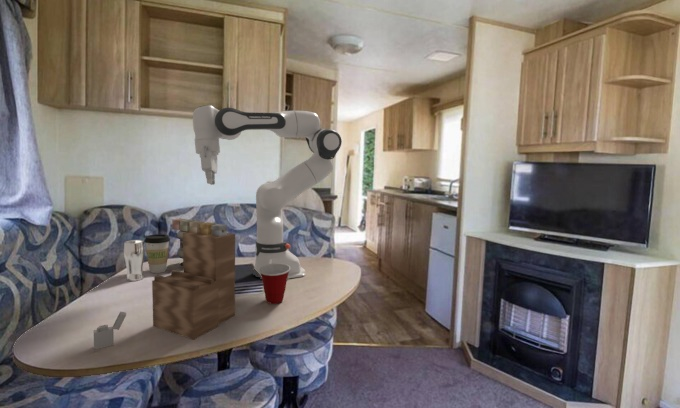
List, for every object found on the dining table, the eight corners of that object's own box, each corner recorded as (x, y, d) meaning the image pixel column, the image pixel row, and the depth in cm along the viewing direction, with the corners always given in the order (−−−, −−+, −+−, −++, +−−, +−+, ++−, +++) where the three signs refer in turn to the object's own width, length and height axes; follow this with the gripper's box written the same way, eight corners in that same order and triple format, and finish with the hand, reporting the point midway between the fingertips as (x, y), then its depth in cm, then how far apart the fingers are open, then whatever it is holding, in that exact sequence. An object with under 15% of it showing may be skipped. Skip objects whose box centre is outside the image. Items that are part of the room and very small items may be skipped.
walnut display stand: (153, 326, 101) (151, 237, 99) (199, 305, 117) (198, 228, 114) (193, 339, 95) (193, 244, 92) (237, 316, 110) (237, 234, 107)
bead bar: (171, 228, 111) (171, 219, 111) (179, 227, 114) (178, 218, 114) (219, 236, 103) (219, 226, 103) (226, 234, 106) (226, 224, 105)
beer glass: (148, 276, 143) (148, 240, 141) (137, 282, 136) (136, 244, 135) (132, 275, 144) (131, 239, 142) (120, 280, 137) (119, 243, 135)
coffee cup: (139, 272, 147) (138, 237, 146) (157, 266, 157) (156, 233, 155) (158, 275, 145) (158, 239, 143) (175, 268, 154) (175, 235, 153)
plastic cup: (251, 302, 121) (251, 268, 120) (271, 293, 131) (272, 261, 129) (276, 309, 116) (277, 274, 115) (295, 299, 126) (296, 266, 124)
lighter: (94, 349, 88) (93, 318, 87) (94, 346, 90) (92, 316, 89) (127, 341, 92) (126, 312, 92) (126, 339, 94) (125, 310, 93)
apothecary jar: (174, 263, 163) (173, 224, 161) (200, 259, 170) (200, 222, 168) (181, 269, 153) (181, 229, 151) (209, 265, 161) (209, 226, 159)
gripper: (213, 144, 127) (217, 182, 128) (218, 151, 147) (221, 184, 148) (194, 144, 126) (198, 183, 126) (202, 152, 146) (205, 185, 146)
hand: (211, 184), depth 137 cm, fingers open, 8 cm apart
